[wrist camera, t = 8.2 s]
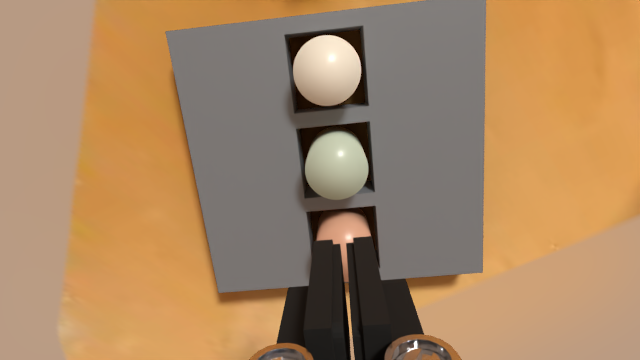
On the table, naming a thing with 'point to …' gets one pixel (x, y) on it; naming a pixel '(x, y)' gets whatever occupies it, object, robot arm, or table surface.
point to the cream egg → (327, 70)
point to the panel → (378, 111)
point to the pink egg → (343, 229)
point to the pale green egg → (336, 164)
